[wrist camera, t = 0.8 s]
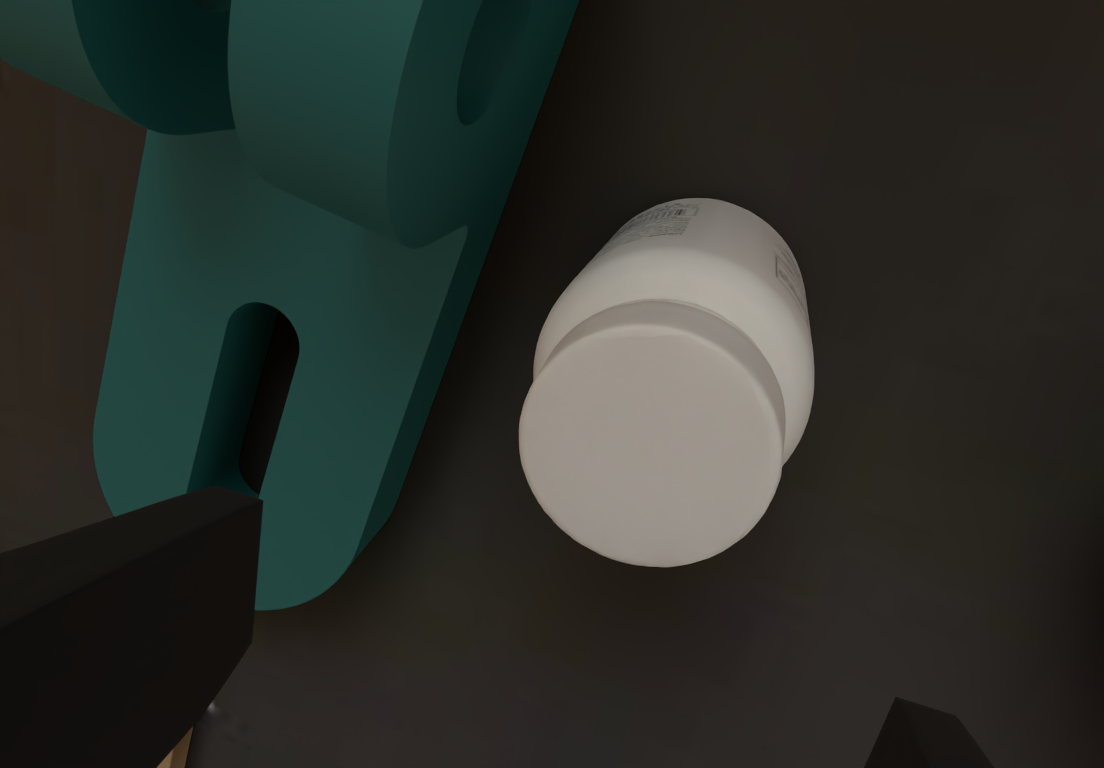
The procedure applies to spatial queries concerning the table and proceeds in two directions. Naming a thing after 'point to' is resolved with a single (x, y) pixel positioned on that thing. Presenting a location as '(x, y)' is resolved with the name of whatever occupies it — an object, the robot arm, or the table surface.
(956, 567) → the table surface
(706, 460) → the pill bottle
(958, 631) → the table surface
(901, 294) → the table surface
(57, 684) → the robot arm
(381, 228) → the bracket
